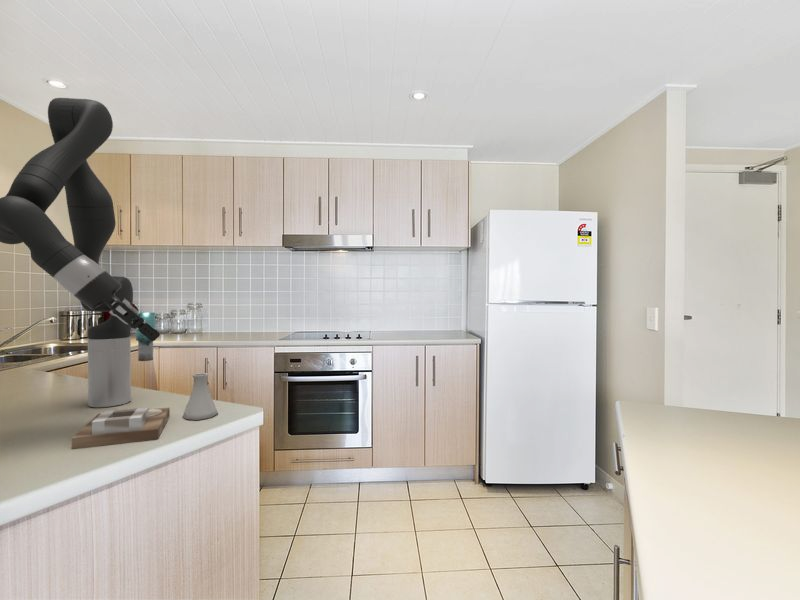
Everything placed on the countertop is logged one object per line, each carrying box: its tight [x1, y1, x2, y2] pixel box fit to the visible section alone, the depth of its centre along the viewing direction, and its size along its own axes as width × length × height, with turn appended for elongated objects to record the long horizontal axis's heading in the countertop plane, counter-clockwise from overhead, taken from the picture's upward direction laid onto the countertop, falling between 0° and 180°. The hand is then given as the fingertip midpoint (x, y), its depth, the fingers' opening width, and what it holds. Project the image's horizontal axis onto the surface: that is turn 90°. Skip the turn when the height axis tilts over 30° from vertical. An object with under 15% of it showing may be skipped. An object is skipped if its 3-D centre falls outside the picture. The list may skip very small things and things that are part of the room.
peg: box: [135, 311, 156, 362], centre depth 93 cm, size 4×4×10 cm
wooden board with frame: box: [71, 406, 171, 450], centre depth 88 cm, size 17×14×4 cm
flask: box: [182, 372, 219, 421], centre depth 99 cm, size 7×7×10 cm
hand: (156, 337), depth 94 cm, fingers closed on peg, 3 cm apart
